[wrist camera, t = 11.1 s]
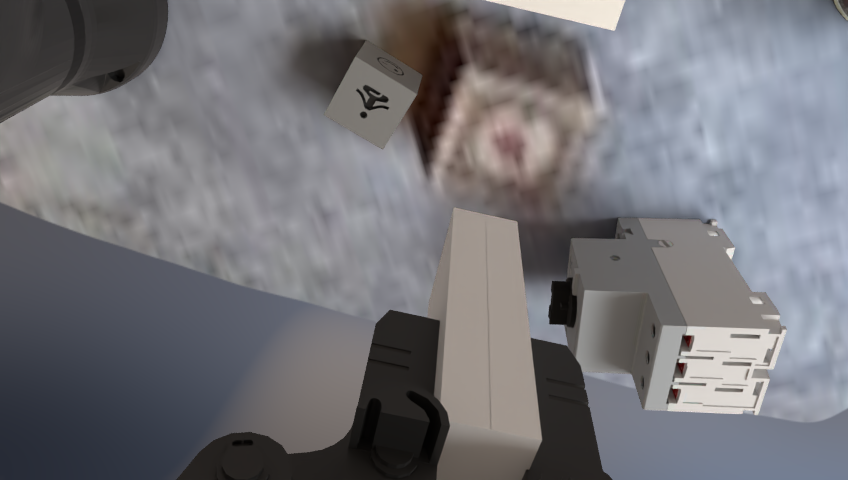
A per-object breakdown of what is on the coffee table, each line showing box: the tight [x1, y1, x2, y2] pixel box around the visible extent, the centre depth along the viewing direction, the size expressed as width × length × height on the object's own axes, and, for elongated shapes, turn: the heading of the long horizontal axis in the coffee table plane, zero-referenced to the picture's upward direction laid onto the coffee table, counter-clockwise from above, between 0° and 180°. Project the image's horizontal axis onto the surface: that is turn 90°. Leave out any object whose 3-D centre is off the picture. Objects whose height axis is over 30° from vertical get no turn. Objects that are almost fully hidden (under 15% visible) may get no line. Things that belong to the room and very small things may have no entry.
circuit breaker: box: [548, 218, 787, 415], centre depth 50 cm, size 8×14×15 cm, turn 91°
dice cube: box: [324, 40, 422, 149], centre depth 48 cm, size 5×5×5 cm
